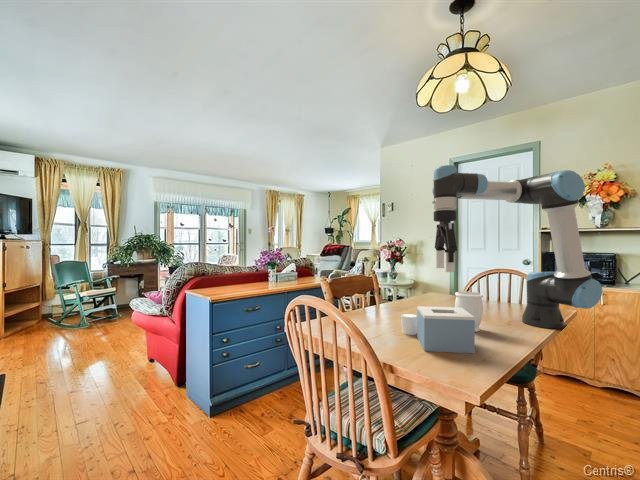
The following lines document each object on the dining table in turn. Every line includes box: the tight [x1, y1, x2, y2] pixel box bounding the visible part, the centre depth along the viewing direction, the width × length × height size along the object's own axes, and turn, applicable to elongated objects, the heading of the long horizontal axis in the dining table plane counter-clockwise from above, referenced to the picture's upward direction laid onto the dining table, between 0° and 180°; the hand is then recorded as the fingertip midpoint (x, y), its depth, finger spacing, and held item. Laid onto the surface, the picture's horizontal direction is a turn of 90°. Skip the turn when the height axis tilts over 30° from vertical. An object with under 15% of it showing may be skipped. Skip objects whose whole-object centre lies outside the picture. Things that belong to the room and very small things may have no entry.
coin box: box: [416, 305, 476, 354], centre depth 110 cm, size 16×14×12 cm
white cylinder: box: [400, 313, 417, 336], centre depth 124 cm, size 7×7×7 cm
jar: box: [454, 291, 484, 333], centre depth 129 cm, size 11×10×15 cm
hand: (444, 270), depth 110 cm, fingers open, 13 cm apart
